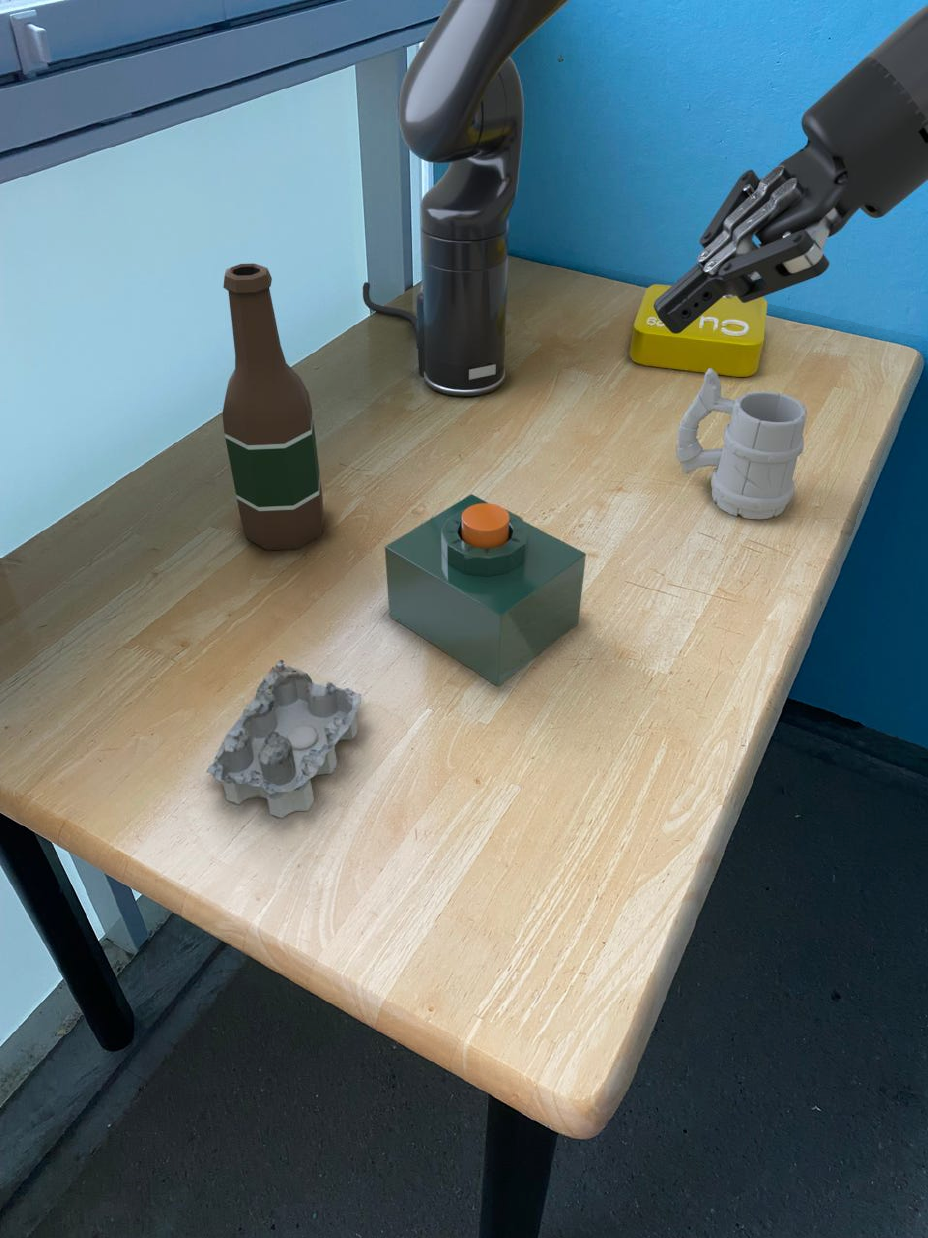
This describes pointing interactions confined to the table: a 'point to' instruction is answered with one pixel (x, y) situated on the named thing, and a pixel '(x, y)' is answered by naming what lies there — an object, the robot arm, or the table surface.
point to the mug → (746, 448)
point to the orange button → (485, 525)
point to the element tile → (702, 337)
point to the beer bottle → (268, 424)
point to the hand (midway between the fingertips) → (663, 320)
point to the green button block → (484, 591)
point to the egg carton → (285, 740)
